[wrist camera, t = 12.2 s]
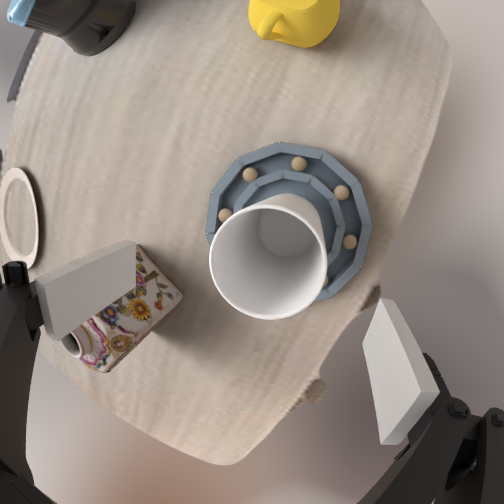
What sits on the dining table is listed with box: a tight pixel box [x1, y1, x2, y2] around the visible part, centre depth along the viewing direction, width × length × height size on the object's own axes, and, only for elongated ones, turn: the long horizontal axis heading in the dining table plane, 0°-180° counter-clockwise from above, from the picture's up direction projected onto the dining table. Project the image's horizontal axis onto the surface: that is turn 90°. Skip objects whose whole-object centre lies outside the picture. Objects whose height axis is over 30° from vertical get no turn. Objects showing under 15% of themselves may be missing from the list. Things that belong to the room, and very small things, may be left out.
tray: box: [205, 142, 372, 303], centre depth 33 cm, size 20×20×3 cm
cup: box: [209, 193, 327, 320], centre depth 26 cm, size 8×8×16 cm
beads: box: [218, 156, 357, 287], centre depth 32 cm, size 17×17×2 cm
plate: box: [0, 167, 39, 269], centre depth 47 cm, size 26×26×2 cm
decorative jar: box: [60, 244, 183, 373], centre depth 34 cm, size 12×12×18 cm
